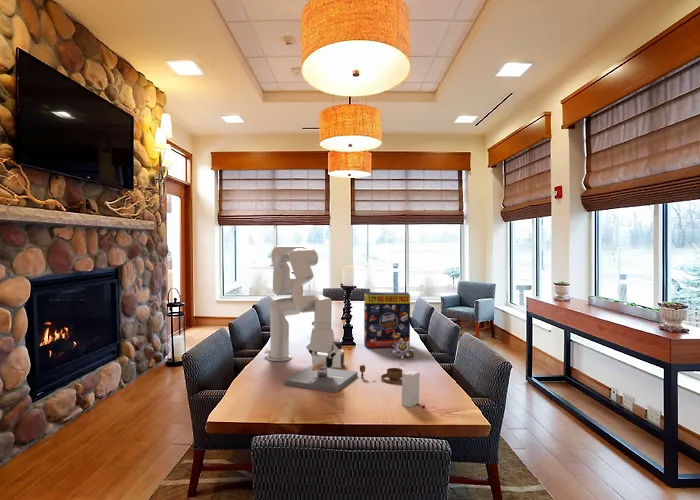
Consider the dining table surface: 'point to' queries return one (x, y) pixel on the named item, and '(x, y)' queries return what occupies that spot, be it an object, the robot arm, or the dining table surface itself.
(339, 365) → the medicine bottle
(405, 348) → the passion flower
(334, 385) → the base board
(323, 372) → the steel post
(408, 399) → the skincare box
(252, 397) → the dining table surface
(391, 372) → the tea set
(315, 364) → the mallet
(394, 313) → the cereal box
